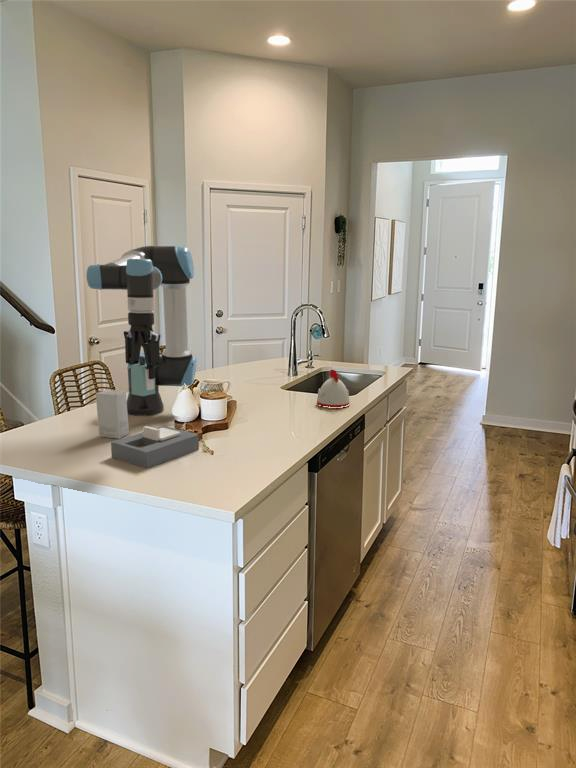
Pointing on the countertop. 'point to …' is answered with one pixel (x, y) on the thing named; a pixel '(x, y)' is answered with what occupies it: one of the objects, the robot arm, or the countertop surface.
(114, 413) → the skincare box
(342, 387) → the white knitted dome
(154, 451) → the socket block
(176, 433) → the white l-shaped bracket
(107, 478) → the countertop surface
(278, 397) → the countertop surface
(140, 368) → the teal square bottle
